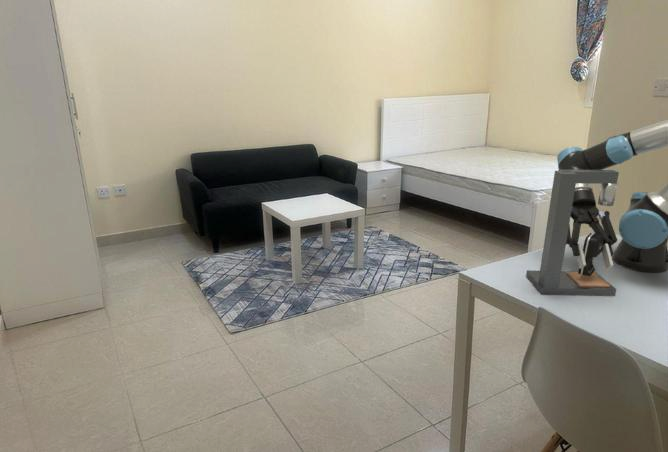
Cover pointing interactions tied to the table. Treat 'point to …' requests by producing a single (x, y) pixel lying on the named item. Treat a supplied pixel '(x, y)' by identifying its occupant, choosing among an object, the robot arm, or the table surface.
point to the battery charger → (591, 252)
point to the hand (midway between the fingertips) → (596, 266)
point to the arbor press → (560, 208)
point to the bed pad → (588, 280)
